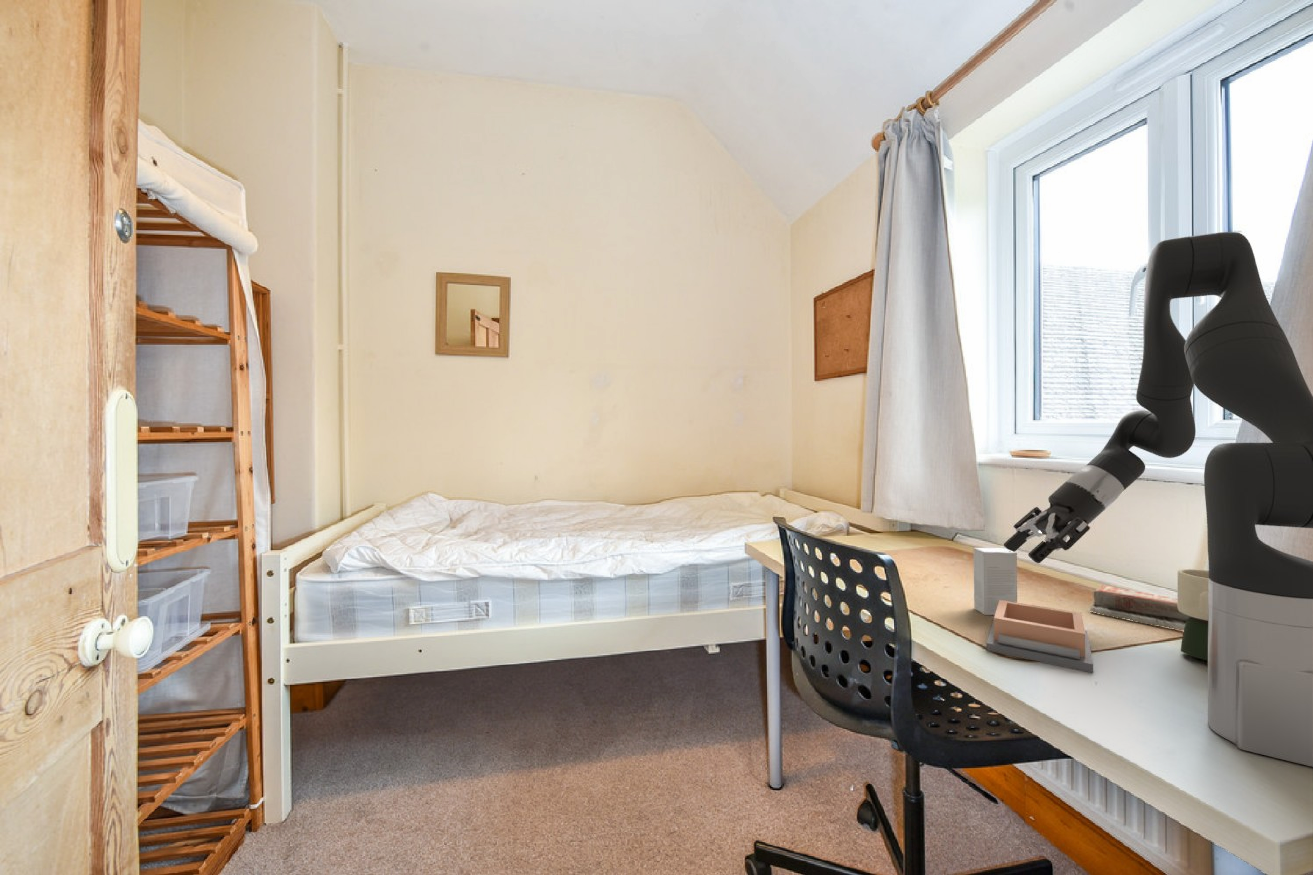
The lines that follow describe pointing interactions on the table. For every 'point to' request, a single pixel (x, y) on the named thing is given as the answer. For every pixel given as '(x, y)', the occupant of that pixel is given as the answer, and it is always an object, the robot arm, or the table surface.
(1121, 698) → the table surface
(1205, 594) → the character mug
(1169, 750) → the table surface
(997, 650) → the open rectangular holder tray
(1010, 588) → the skincare box
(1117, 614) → the packaged product
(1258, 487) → the robot arm
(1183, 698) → the table surface
